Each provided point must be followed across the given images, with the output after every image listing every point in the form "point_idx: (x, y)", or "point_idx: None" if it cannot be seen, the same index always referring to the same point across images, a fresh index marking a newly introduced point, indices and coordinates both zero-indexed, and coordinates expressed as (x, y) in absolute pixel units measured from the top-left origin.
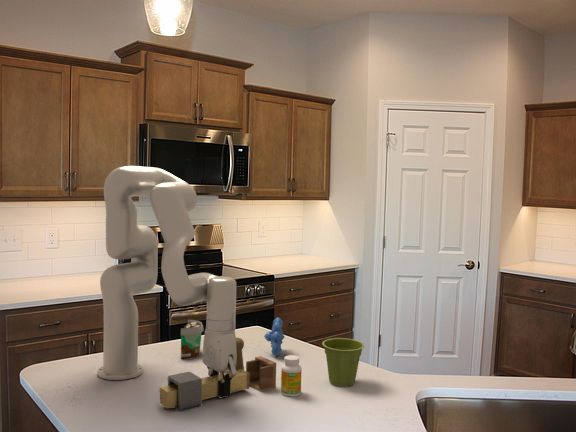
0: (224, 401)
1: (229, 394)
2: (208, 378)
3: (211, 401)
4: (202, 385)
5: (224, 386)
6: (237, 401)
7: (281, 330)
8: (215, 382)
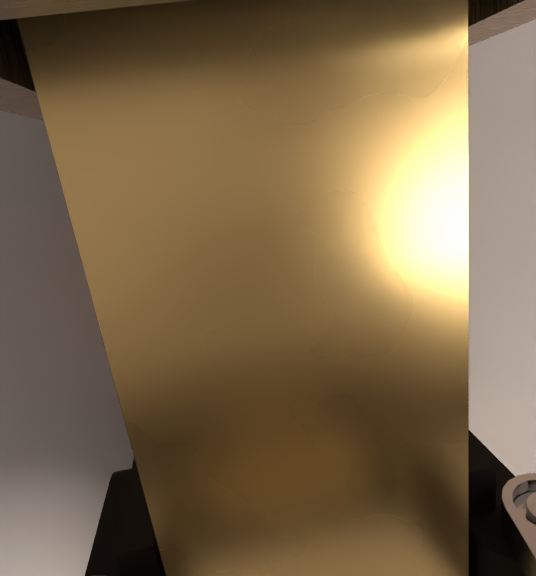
0: (105, 420)
1: None
2: (375, 428)
3: None
4: (64, 173)
5: (90, 561)
6: (54, 532)
7: None
8: (151, 489)
